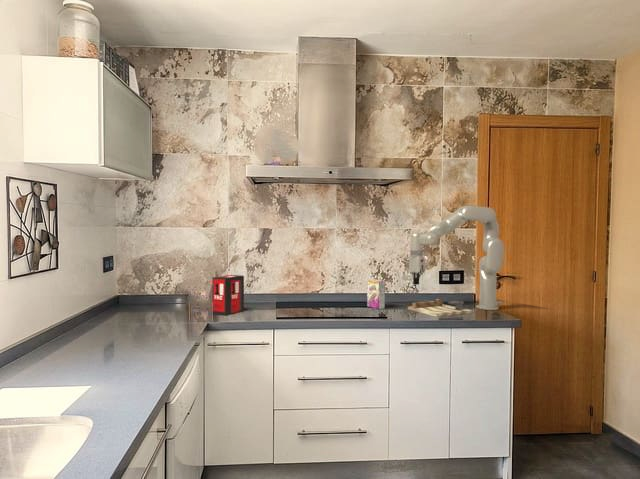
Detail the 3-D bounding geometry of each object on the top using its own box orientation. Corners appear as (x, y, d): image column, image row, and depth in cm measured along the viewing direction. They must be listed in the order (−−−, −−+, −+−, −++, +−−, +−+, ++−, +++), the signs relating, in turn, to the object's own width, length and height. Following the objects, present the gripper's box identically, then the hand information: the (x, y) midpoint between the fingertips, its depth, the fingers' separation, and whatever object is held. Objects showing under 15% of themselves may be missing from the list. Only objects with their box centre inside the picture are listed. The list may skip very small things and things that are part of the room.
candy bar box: (366, 306, 296) (366, 279, 296) (372, 306, 299) (373, 279, 299) (378, 309, 287) (379, 281, 286) (385, 308, 290) (385, 280, 289)
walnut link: (438, 304, 297) (438, 298, 297) (444, 305, 292) (444, 299, 292) (411, 306, 287) (411, 300, 287) (416, 307, 283) (416, 301, 283)
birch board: (441, 306, 301) (441, 303, 301) (472, 312, 279) (472, 310, 279) (407, 309, 289) (407, 306, 288) (436, 316, 266) (436, 313, 266)
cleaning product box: (225, 315, 262) (225, 278, 261) (212, 314, 266) (212, 277, 265) (243, 311, 277) (243, 275, 276) (230, 309, 280) (230, 274, 280)
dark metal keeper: (458, 308, 284) (458, 300, 284) (463, 309, 280) (464, 301, 280) (447, 309, 280) (447, 301, 280) (452, 310, 276) (452, 302, 276)
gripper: (429, 254, 289) (429, 285, 290) (413, 252, 303) (413, 282, 303) (419, 254, 286) (419, 286, 286) (403, 253, 299) (403, 283, 300)
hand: (416, 284), depth 295 cm, fingers closed
